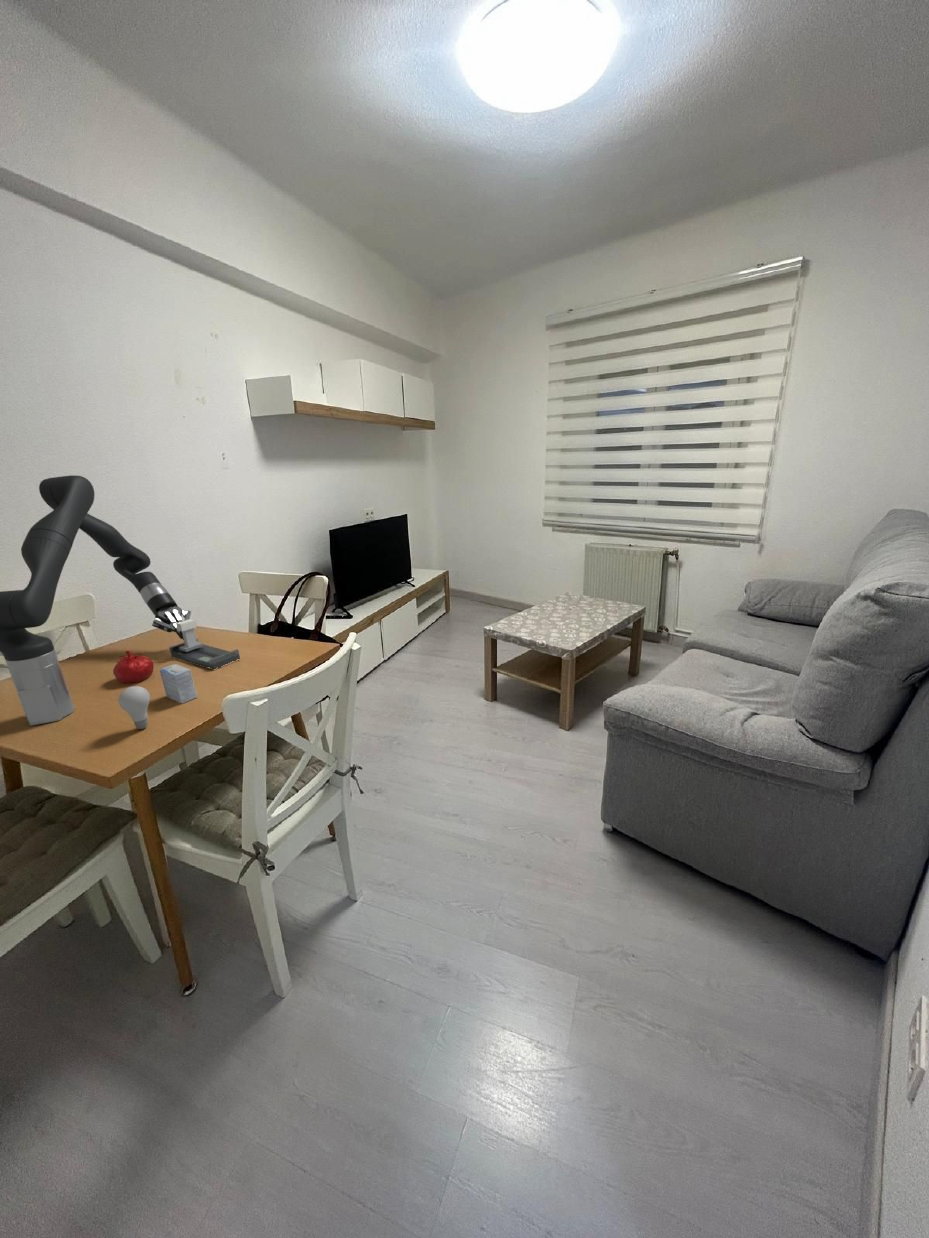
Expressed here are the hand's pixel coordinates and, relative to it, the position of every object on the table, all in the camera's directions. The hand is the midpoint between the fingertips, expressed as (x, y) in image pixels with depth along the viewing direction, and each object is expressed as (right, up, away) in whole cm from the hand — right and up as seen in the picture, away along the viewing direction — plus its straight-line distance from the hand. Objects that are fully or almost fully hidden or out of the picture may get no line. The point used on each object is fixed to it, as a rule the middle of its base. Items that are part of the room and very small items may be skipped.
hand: (186, 638), depth 157 cm
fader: (+2, -3, 0) cm, 4 cm away
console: (+8, -7, -2) cm, 10 cm away
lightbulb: (+16, -20, -44) cm, 51 cm away
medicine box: (+16, -15, -29) cm, 37 cm away
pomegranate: (-5, -12, -16) cm, 21 cm away
